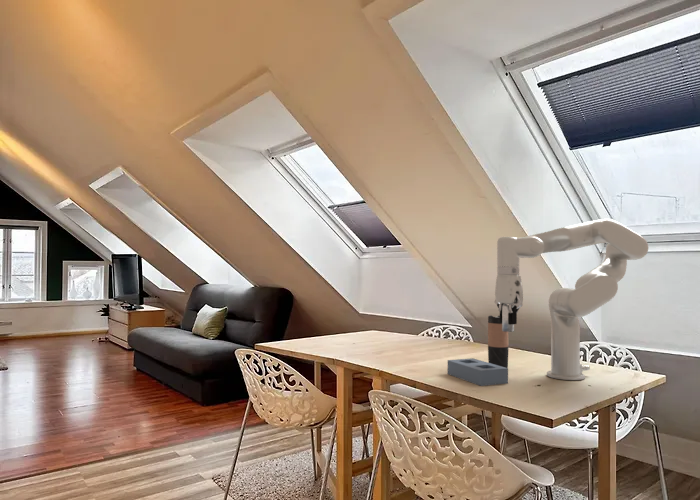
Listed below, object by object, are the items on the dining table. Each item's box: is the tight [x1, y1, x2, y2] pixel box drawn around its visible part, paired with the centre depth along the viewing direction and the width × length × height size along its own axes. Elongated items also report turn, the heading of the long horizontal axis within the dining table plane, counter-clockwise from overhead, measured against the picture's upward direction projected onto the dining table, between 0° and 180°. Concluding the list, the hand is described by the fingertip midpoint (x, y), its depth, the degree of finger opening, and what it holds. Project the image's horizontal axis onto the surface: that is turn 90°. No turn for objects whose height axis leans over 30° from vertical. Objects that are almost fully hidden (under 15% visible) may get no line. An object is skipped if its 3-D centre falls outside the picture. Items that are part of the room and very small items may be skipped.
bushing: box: [502, 304, 515, 333], centre depth 187 cm, size 4×4×9 cm
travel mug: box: [487, 315, 510, 369], centre depth 203 cm, size 8×8×20 cm
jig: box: [447, 357, 509, 387], centre depth 185 cm, size 11×20×5 cm, turn 22°
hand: (508, 323), depth 187 cm, fingers closed on bushing, 4 cm apart
